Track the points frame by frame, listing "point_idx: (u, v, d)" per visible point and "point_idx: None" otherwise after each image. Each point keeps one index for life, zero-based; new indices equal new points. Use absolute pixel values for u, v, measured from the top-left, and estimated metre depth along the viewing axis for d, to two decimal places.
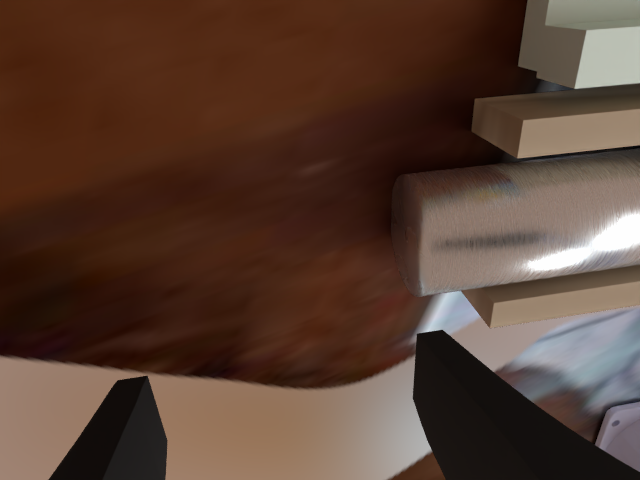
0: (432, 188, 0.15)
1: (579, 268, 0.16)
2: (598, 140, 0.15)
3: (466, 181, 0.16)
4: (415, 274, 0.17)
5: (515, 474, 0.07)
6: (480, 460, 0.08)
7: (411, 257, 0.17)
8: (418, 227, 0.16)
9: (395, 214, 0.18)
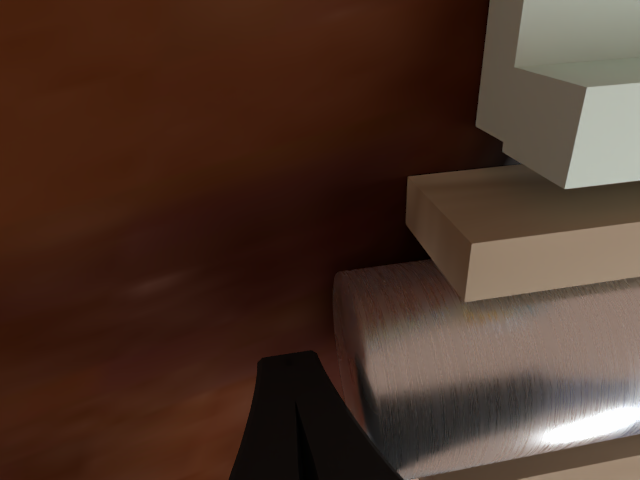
0: (374, 285, 0.09)
1: None
2: (607, 267, 0.09)
3: (433, 272, 0.09)
4: None
5: None
6: None
7: (359, 411, 0.10)
8: (359, 354, 0.09)
9: (339, 341, 0.12)
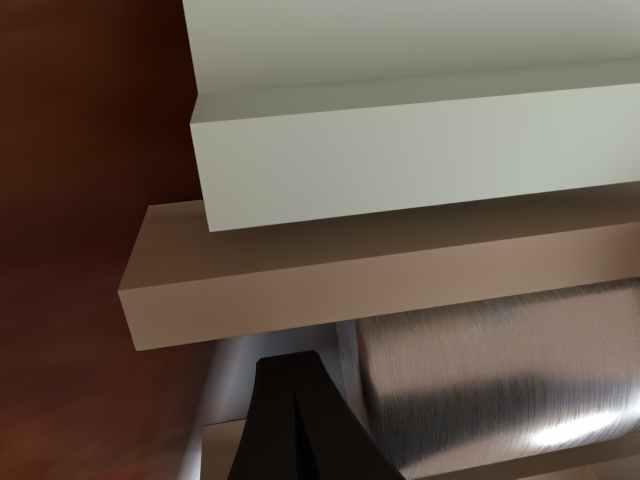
0: None
1: None
2: (300, 312, 0.08)
3: None
4: None
5: None
6: None
7: (362, 411, 0.10)
8: (361, 354, 0.09)
9: (341, 341, 0.12)
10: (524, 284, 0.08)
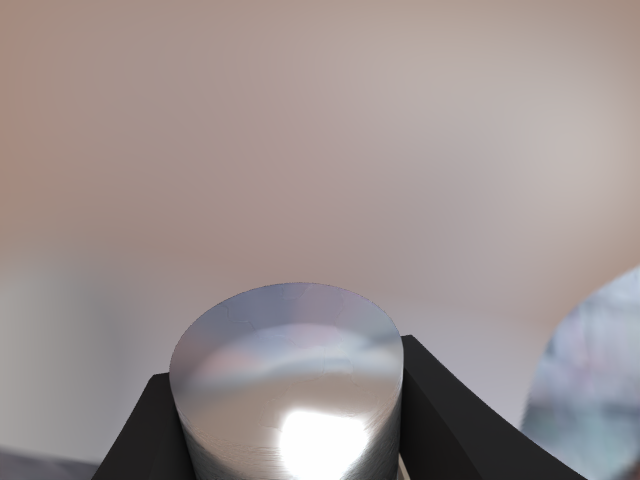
0: None
1: None
2: None
3: None
4: None
5: None
6: (440, 467, 0.08)
7: None
8: None
9: None
10: None
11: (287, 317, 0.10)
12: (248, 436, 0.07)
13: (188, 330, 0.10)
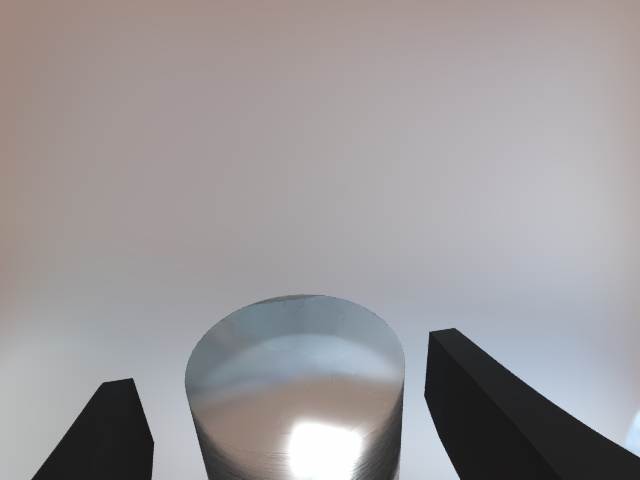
0: None
1: None
2: None
3: None
4: None
5: (533, 471, 0.07)
6: (495, 456, 0.08)
7: None
8: None
9: None
10: None
11: (291, 328, 0.10)
12: (269, 444, 0.08)
13: (198, 345, 0.10)
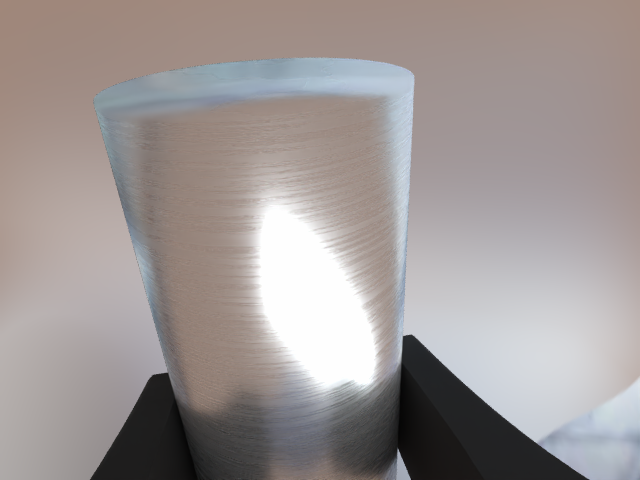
0: None
1: None
2: None
3: None
4: None
5: None
6: (441, 467, 0.08)
7: None
8: None
9: None
10: None
11: (260, 70, 0.08)
12: (193, 118, 0.05)
13: (129, 80, 0.07)
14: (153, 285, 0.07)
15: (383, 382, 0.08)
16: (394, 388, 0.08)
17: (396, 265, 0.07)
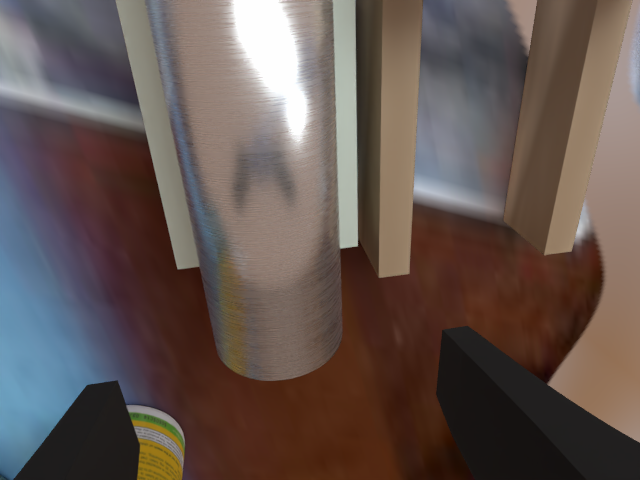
0: (220, 350, 0.15)
1: (316, 204, 0.12)
2: (404, 209, 0.17)
3: (211, 317, 0.15)
4: None
5: (551, 467, 0.07)
6: (512, 454, 0.08)
7: None
8: None
9: None
10: (411, 92, 0.15)
11: None
12: None
13: None
14: None
15: (322, 46, 0.11)
16: (331, 67, 0.11)
17: None
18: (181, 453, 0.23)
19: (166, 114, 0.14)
